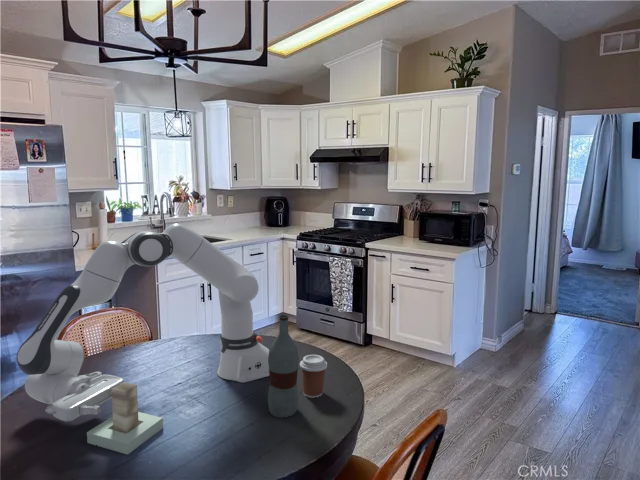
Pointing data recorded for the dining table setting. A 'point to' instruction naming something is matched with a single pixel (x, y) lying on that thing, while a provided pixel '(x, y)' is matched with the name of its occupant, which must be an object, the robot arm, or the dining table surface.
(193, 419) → the dining table surface
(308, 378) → the coffee cup
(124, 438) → the socket plate
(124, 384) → the peg
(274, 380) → the bottle
